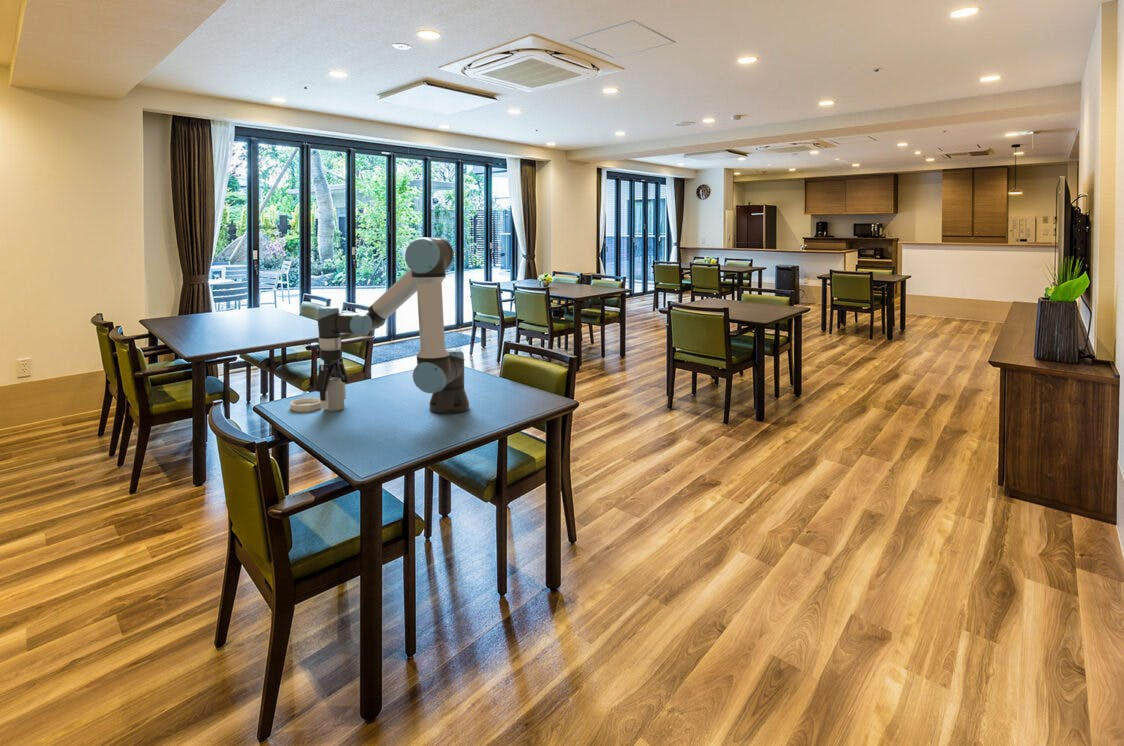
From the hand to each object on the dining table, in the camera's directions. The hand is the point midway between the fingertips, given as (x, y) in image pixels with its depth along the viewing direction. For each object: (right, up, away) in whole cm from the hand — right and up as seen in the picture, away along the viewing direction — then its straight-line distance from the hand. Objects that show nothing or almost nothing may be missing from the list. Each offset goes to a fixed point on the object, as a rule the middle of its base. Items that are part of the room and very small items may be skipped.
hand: (333, 403), depth 233 cm
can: (0, -2, +1) cm, 2 cm away
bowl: (-11, -2, +2) cm, 11 cm away
